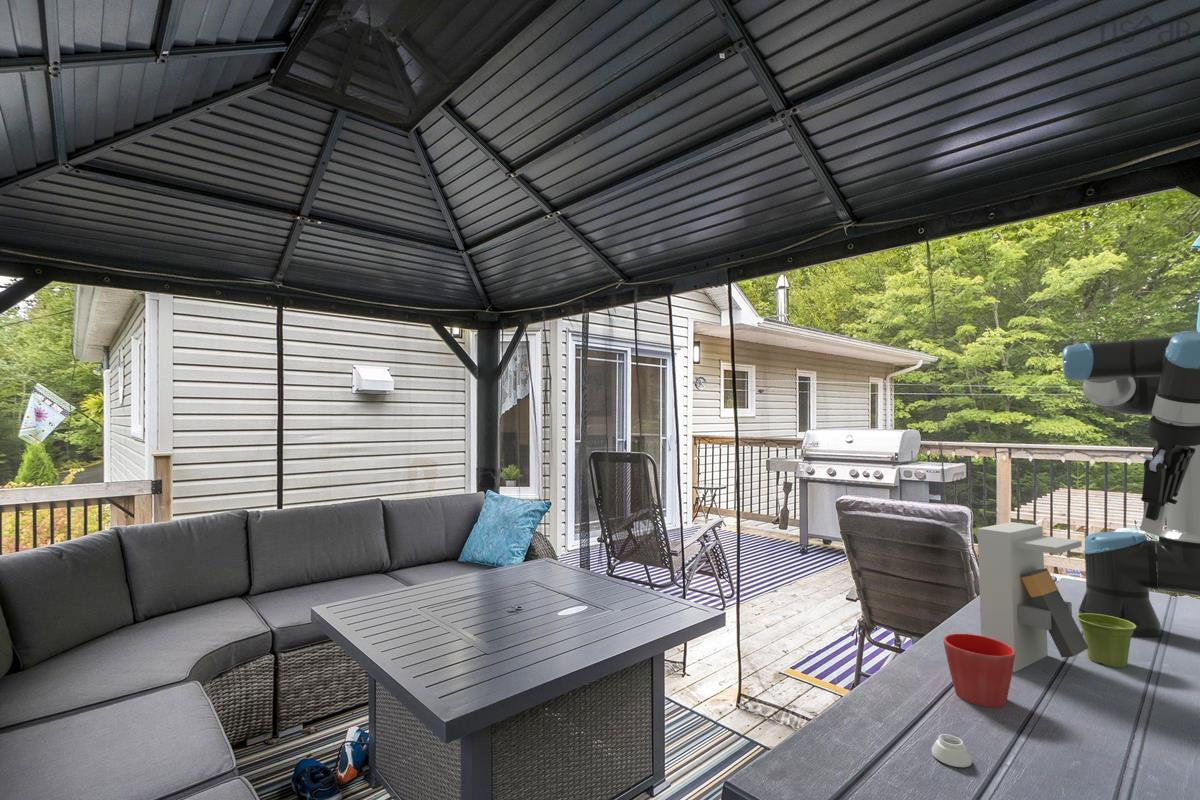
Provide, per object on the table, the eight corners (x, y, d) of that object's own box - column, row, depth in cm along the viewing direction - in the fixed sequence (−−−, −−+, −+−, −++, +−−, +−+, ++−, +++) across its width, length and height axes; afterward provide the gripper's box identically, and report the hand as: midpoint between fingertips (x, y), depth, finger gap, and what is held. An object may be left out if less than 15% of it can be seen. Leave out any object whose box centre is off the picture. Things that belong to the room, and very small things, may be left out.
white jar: (976, 761, 82) (938, 746, 86) (975, 740, 82) (938, 726, 86) (965, 774, 79) (926, 758, 83) (964, 753, 79) (926, 738, 83)
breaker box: (1015, 646, 126) (1011, 522, 127) (1090, 667, 115) (1083, 530, 116) (982, 661, 117) (977, 528, 119) (1058, 686, 106) (1052, 538, 108)
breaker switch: (1077, 648, 113) (1036, 569, 120) (1089, 647, 112) (1047, 567, 118) (1061, 657, 109) (1019, 575, 115) (1073, 656, 107) (1030, 573, 114)
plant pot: (1150, 673, 112) (1148, 629, 112) (1096, 669, 114) (1094, 626, 114) (1117, 655, 121) (1115, 614, 121) (1068, 651, 123) (1066, 611, 123)
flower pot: (996, 718, 94) (994, 660, 95) (932, 691, 104) (931, 638, 104) (1029, 704, 99) (1027, 649, 100) (965, 679, 109) (964, 629, 109)
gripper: (1190, 433, 95) (1158, 551, 102) (1225, 417, 100) (1193, 530, 107) (1134, 421, 102) (1108, 532, 109) (1170, 406, 106) (1143, 513, 114)
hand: (1150, 531), depth 108 cm, fingers closed
